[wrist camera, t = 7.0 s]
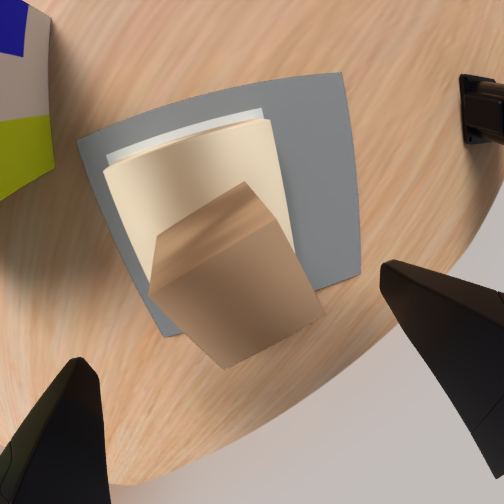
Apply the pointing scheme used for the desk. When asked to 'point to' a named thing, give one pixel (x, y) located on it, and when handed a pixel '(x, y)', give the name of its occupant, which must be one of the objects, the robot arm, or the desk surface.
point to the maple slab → (194, 180)
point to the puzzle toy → (23, 96)
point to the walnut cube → (232, 278)
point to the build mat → (290, 160)
